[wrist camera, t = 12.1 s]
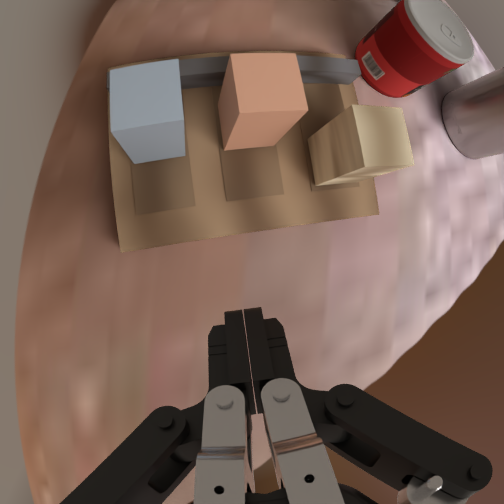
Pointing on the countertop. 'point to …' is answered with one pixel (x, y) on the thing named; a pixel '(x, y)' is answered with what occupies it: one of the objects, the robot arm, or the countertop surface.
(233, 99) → the salmon orange block
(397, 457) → the robot arm
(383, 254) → the countertop surface
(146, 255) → the countertop surface
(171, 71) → the slate key
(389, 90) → the canned food
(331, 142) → the maple key
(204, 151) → the wooden board with bar
